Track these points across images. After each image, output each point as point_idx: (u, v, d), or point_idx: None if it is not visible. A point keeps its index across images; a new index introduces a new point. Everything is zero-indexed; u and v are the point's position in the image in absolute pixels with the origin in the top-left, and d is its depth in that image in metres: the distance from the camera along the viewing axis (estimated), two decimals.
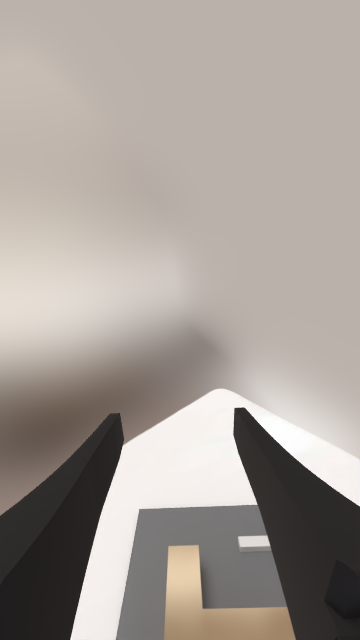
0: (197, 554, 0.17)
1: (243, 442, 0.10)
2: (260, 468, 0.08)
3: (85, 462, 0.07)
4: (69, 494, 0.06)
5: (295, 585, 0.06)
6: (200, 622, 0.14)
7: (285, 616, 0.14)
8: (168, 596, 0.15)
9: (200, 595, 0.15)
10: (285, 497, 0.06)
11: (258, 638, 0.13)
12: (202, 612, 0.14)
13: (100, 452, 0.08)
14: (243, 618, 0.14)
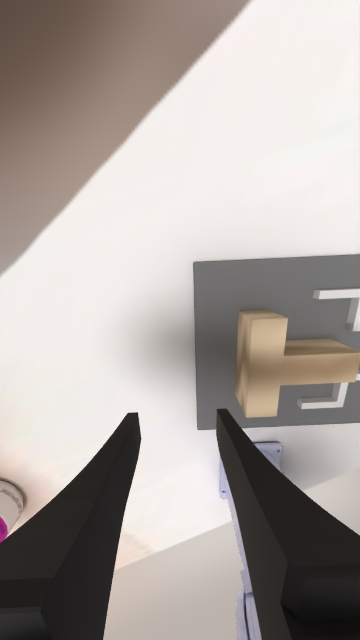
0: (285, 325, 0.15)
1: (223, 443, 0.10)
2: (235, 469, 0.08)
3: (111, 461, 0.07)
4: (100, 493, 0.06)
5: (260, 586, 0.06)
6: (280, 362, 0.16)
7: (354, 357, 0.16)
8: (252, 351, 0.16)
9: (283, 349, 0.16)
10: (253, 498, 0.06)
11: (325, 366, 0.16)
12: (283, 357, 0.16)
13: (123, 451, 0.08)
14: (317, 359, 0.16)
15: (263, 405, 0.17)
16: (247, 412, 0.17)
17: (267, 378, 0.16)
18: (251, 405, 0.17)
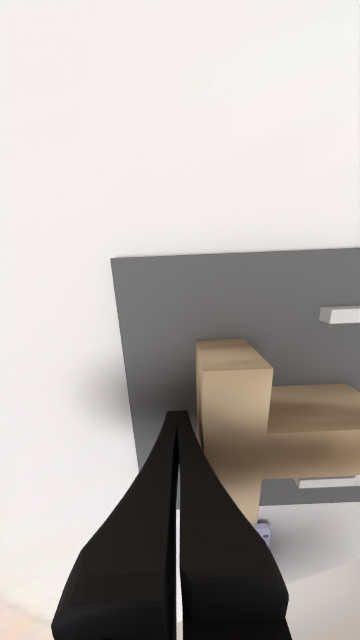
0: (268, 381, 0.08)
1: (178, 445, 0.10)
2: None
3: (169, 458, 0.07)
4: None
5: None
6: (260, 443, 0.09)
7: None
8: (207, 425, 0.08)
9: (265, 423, 0.08)
10: (180, 501, 0.06)
11: (344, 450, 0.09)
12: (265, 436, 0.09)
13: (174, 449, 0.08)
14: (329, 438, 0.09)
15: None
16: None
17: (237, 468, 0.09)
18: None
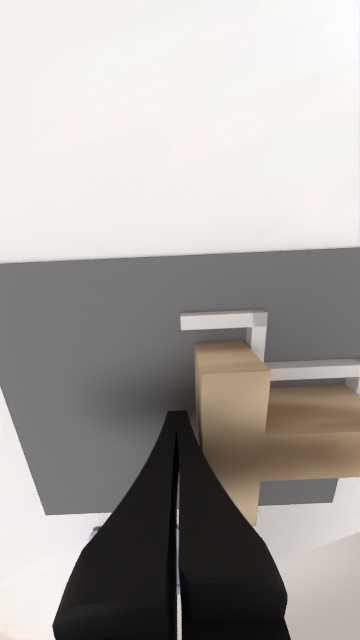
0: (266, 383, 0.08)
1: (177, 445, 0.10)
2: None
3: (170, 458, 0.07)
4: None
5: None
6: (259, 445, 0.09)
7: None
8: (206, 427, 0.08)
9: (263, 425, 0.08)
10: (179, 501, 0.06)
11: (342, 452, 0.09)
12: (264, 438, 0.09)
13: (175, 449, 0.08)
14: (327, 440, 0.09)
15: None
16: None
17: (236, 470, 0.09)
18: None
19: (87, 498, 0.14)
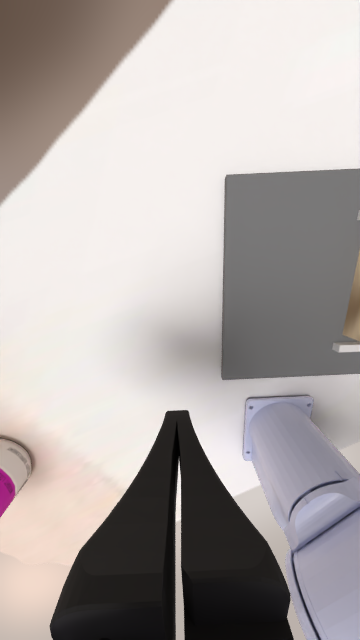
0: None
1: (178, 445, 0.10)
2: None
3: (169, 458, 0.07)
4: None
5: None
6: None
7: None
8: None
9: None
10: (181, 501, 0.06)
11: None
12: None
13: (174, 449, 0.08)
14: None
15: None
16: None
17: None
18: None
19: (256, 364, 0.20)
